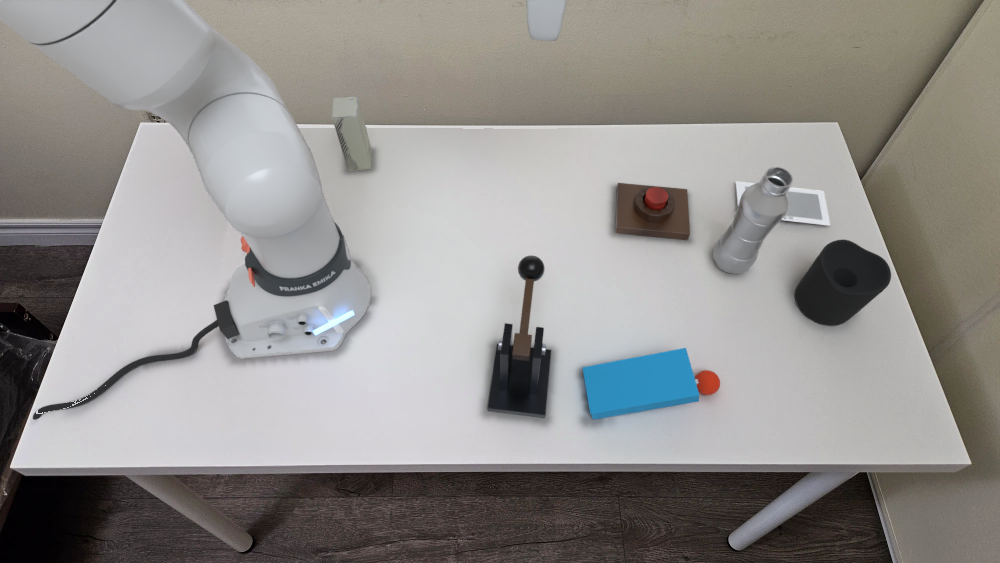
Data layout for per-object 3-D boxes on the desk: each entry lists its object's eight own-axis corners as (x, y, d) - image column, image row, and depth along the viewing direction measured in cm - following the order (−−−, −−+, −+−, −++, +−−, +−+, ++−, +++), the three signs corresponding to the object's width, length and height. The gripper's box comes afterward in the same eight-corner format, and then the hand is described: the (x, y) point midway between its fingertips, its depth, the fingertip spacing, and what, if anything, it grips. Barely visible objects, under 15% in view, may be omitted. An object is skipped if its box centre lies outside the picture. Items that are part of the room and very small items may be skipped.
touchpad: (733, 185, 103) (737, 176, 101) (820, 195, 101) (826, 186, 99) (736, 219, 98) (740, 210, 97) (827, 229, 97) (833, 221, 95)
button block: (615, 233, 97) (618, 220, 94) (616, 189, 102) (619, 175, 99) (687, 240, 96) (693, 227, 93) (684, 195, 101) (690, 181, 98)
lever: (519, 261, 80) (519, 249, 77) (545, 263, 80) (546, 252, 76) (507, 359, 74) (506, 352, 71) (534, 363, 74) (535, 355, 71)
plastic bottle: (747, 246, 95) (799, 160, 78) (752, 281, 92) (808, 197, 75) (707, 243, 96) (751, 156, 79) (711, 277, 92) (758, 194, 75)
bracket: (497, 347, 85) (496, 302, 75) (550, 353, 85) (557, 309, 74) (487, 411, 80) (485, 373, 69) (544, 418, 79) (551, 381, 69)
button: (644, 209, 96) (646, 202, 94) (643, 192, 98) (646, 185, 96) (665, 211, 95) (668, 204, 94) (665, 194, 97) (667, 187, 96)
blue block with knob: (597, 429, 83) (726, 407, 80) (590, 414, 77) (728, 390, 74) (589, 384, 87) (712, 362, 83) (582, 367, 81) (713, 342, 78)
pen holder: (807, 333, 86) (839, 298, 78) (781, 281, 91) (809, 243, 83) (865, 324, 87) (904, 289, 79) (836, 273, 92) (869, 235, 84)
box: (349, 152, 108) (331, 96, 97) (372, 150, 108) (358, 94, 97) (348, 172, 105) (330, 117, 94) (372, 170, 105) (357, 115, 94)
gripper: (536, -119, 74) (532, -14, 85) (518, -33, 63) (516, 74, 74) (585, -116, 73) (574, -11, 85) (576, -29, 62) (565, 78, 74)
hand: (547, 30), depth 80 cm, fingers closed
